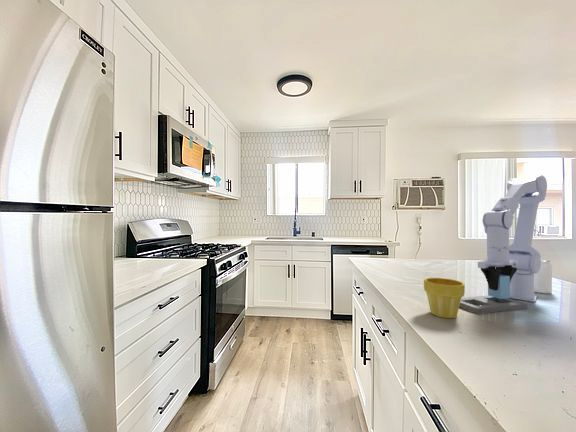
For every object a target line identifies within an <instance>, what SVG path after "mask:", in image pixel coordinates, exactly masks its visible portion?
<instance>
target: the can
mask: <svg viewBox="0 0 576 432" xmlns="http://www.w3.org/2000/svg"><path fill="white" fill-rule="evenodd" d="M540 261H541V268H540V270H539V272H537V273H536V274H534V293H537V294H543V295H545V294H546V295H550V294H552V292H553V267H552V264H551V261H550V260H549V259H548V260H547V259H540Z"/></svg>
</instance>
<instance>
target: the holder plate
mask: <svg viewBox="0 0 576 432" xmlns="http://www.w3.org/2000/svg"><path fill="white" fill-rule="evenodd" d="M495 301H496V302H495ZM497 301H498V302H497ZM474 304H475V305H474ZM480 305H481V306H480ZM461 307H462V309H464V308H465V309H464V310H466V309H467V310H466V311H469V310H470V311H469V312H472V313H474V312H475V313H474V314H477V315H481V313H483V314H490V313H489V312H492V313H499V312H498V311H500V312H508V311H509V312H510V311H515V310H524V309H525V310H526V309H528V303H526V302H522V301H518V300H517V299H513V298H504V299H499V298H495V297H492V296H488V294H486V295H477V296H467V297H461V301H460V305H459V308H461Z"/></svg>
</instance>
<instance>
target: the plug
mask: <svg viewBox="0 0 576 432" xmlns="http://www.w3.org/2000/svg"><path fill="white" fill-rule="evenodd" d="M487 295H488V296H492V297H495V298H499V299H504V298H508V299H511V298H510V276H507V275H502V274H500V276H499V280H498V289H497V290H492V289H489V285H488V284H487Z"/></svg>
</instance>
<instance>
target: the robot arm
mask: <svg viewBox="0 0 576 432" xmlns="http://www.w3.org/2000/svg"><path fill="white" fill-rule="evenodd" d="M547 182H548V181H547V178H546V177H545V176H544V175H543V174H539V175H535V176H534V175H533V176H524V177H516V178H513V177H512V178H509V180H508V181H507V184H506V190H507V193H506V194H505V196H504V197H500V199H498V200H497V202H496V203H495V205H494V206H493V208H491V210H489V211H487V212H485V213H484V214H483V216H482V225H483V227H484V233H485V234H486V258H487V259H486V260H479V261H477V268H479V269H480V271H481V273H482V274H483V275H484V277H485V279H486V281H487V286H488V285H489V289H492V290H497V289H498V280H499V276H500V274H502V275H507V276H510V298H509V299H512V300H520V301H525V302H526V301H527V302H530V303H531V302H532V303H533V302H534V303H536V300H537V296H538V295H537V294H535V292H534V274H536V273H537V272H539V270H540V268H541V261H540V260H541V256H542V255H541V254H540V252H539V250H538V249H536V248H534V247H533V246H532V244H533V237H534V231H535V226H536V219H537V214H538V208H539V204H540V203H542V202H543V201H545V199H546V196H547V191H548V190H547V189H548V183H547ZM518 208H519V211H518ZM516 211H518V216H517V220H516V226H515V232H514V236H513V242H512V244H510V228H512V226H513V222H514V217H515V216H514V215H515V213H516Z"/></svg>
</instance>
